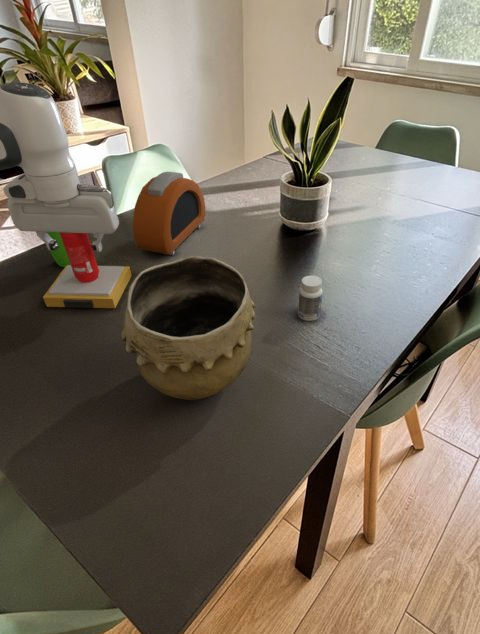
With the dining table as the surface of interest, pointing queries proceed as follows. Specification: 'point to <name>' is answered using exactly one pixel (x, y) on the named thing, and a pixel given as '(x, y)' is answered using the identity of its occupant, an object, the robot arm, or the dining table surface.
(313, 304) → the pill bottle
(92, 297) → the scale
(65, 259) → the cup
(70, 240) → the beverage can
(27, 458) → the dining table surface
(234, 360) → the clay pot
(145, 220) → the alarm clock
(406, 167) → the dining table surface
